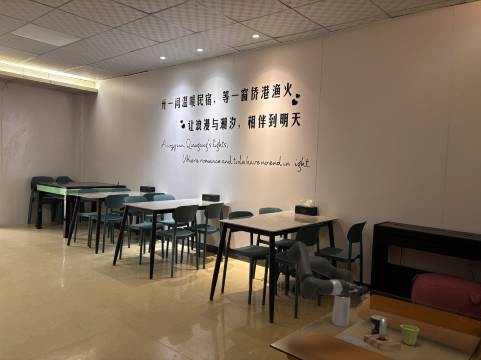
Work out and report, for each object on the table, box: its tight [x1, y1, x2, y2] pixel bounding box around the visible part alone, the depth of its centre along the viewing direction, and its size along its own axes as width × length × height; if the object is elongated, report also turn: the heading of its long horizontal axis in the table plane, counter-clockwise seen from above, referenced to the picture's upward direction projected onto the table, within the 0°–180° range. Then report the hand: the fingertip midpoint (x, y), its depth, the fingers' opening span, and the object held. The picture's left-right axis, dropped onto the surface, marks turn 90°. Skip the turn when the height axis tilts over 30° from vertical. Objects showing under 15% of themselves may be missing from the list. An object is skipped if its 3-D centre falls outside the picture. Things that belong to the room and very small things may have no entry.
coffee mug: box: [369, 315, 387, 335], centre depth 217 cm, size 12×9×10 cm
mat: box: [337, 335, 371, 347], centre depth 202 cm, size 14×10×1 cm
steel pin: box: [379, 317, 388, 341], centre depth 199 cm, size 3×3×14 cm
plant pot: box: [400, 324, 420, 346], centre depth 207 cm, size 9×9×9 cm
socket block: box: [363, 334, 402, 352], centre depth 198 cm, size 14×12×4 cm
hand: (361, 287), depth 197 cm, fingers open, 8 cm apart
